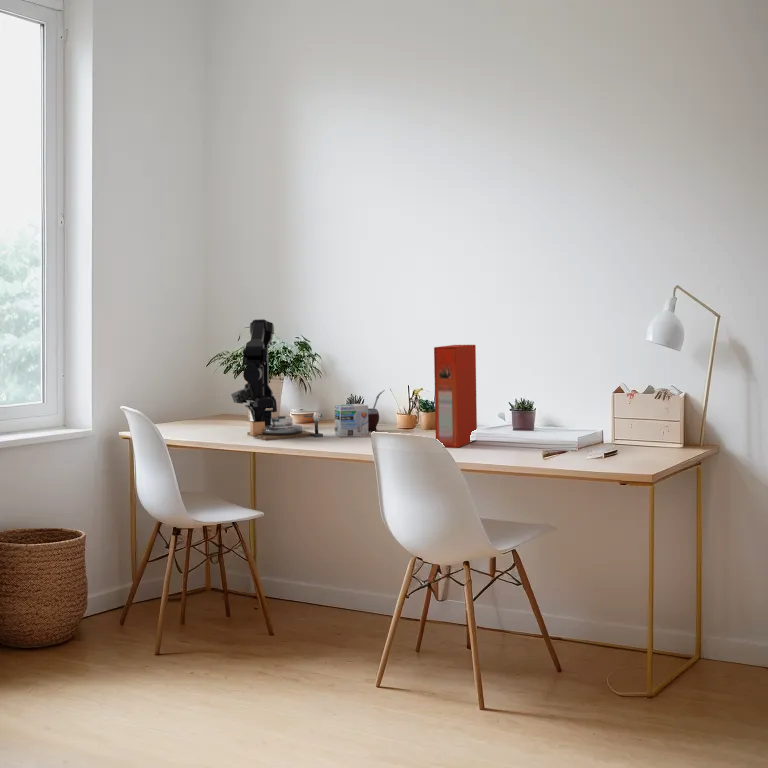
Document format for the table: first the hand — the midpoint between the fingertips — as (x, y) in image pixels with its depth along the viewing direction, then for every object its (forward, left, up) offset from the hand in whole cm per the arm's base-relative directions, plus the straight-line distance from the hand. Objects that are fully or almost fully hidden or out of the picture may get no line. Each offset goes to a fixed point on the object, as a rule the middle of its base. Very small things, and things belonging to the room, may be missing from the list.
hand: (256, 425), depth 348 cm
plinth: (+3, +8, -4) cm, 9 cm away
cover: (+3, +8, -1) cm, 9 cm away
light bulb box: (+16, +29, -4) cm, 34 cm away
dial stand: (+11, +17, -4) cm, 20 cm away
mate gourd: (+10, +40, -4) cm, 42 cm away
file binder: (+55, +47, -4) cm, 73 cm away
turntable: (+3, +6, -3) cm, 7 cm away
